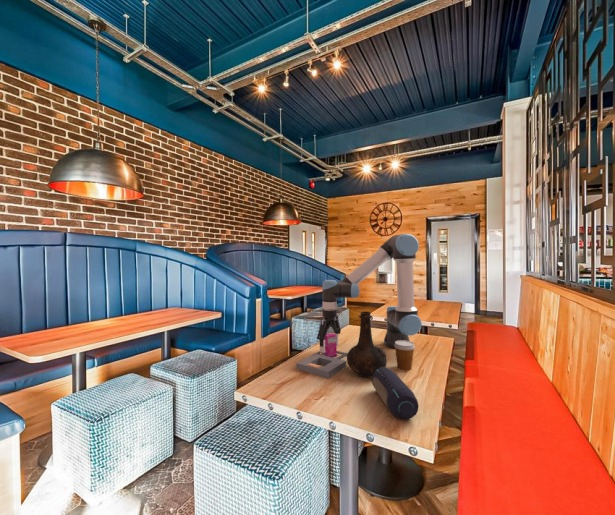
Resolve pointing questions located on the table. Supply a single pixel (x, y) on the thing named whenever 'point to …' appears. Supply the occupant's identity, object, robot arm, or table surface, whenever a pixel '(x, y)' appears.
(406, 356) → the disposable coffee cup
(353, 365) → the glass bottle
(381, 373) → the portable speaker
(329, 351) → the supplement box
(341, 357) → the flat grey square frame
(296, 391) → the table surface
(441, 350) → the table surface
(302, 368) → the socket plate
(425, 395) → the table surface
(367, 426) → the table surface
